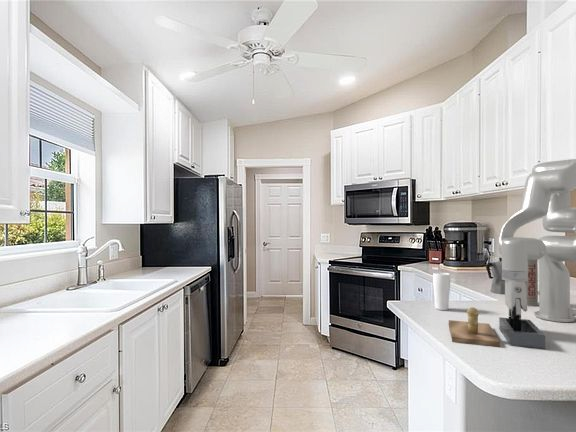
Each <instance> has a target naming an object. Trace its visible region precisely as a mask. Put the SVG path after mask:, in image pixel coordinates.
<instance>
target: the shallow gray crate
mask: <svg viewBox="0 0 576 432" xmlns="http://www.w3.org/2000/svg"><path fill="white" fill-rule="evenodd" d="M498 319H499V320H498V322H499V330H500V332H501V333H502V335H503V337H504V338H505V340H506V341H507V343H508V345H509V346H515V347H525V348H534V349H544V350H546V334H544V332H543V331H541V329H539V328H538V326H536V324H534V323H533V321H532V320H531V319H523V318H521V331H514V330H513V328H512V327H511V326H510V318H509V317H499V318H498Z"/></svg>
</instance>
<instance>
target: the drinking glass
mask: <svg viewBox="0 0 576 432" xmlns="http://www.w3.org/2000/svg"><path fill="white" fill-rule="evenodd" d="M432 287H433V295H434V296H433V297H434V309H435V310H439V311H448V310H449V306H450V305H449V302H450V292H451V273H448V272H433V273H432Z"/></svg>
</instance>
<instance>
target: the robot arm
mask: <svg viewBox="0 0 576 432" xmlns="http://www.w3.org/2000/svg"><path fill="white" fill-rule="evenodd" d="M575 189H576V158H574V159H573V158H571V159H562V160H553V161H552V160H551V161H545V162H541V163H538V164H535V165H534V166H533V168H532V170H531V173H530V174H528V175H527V176H526V180H525V182H524V189H523V192H522V197H521V201H520V206H519V209H518V210H517V211H516V212H514V213H513V214H512V215H511V216H510V217H509V218H508V219H507V220H506V221H505V223H504V224H502V227H501V230H500V233H499V237H498V242H497V243H498V244H497V250H498V252H499V255H500V256H501V258H502V279H503V280H505V294H504V300H505V301H504V302H505V305H506V306H507V308H508V318H510V326H511V327H512V328H513V330H514V331H521V319H522V310H523V312H528V306H527V293H526V284H525V281H528V261H527V259H529V260H538V272H539V273H538V278H539V279H538V282H539V283H538V285H539V286H538V290H539V291H538V292H539V293H538V294H539V295H538V297H539V298H538V299H539V300H538V307H539V308H538V309H539V311H535V312H534V316H535V317H536V318H538V319H540V320H546V321H550V322H557V323H573V322H575V321H576V308H575V309H573V307H571V295H570V294H571V274H570V271H569V269H568V268H567V266H566V264H564V262H565V263H566V262H567V263H576V236H572V235H569V236H568V235H545V236H541V237H540V238H534V237H532V238H531V237H522V236H521V237H519V236H518V237H517V236H515V233H516V232H517V231H518V230H519V229H520V228H521V227H523V226H525V225H528V224H530V223H532V222H534V221H537V220H540V219H542V227H543V229H544V230H545V231H548V232H551V233H566V234H568V233H573V234H576V207H571V202H572V201H571V197H572V196H571V192H572V191H574V190H575Z"/></svg>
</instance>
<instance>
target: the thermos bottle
mask: <svg viewBox="0 0 576 432" xmlns="http://www.w3.org/2000/svg"><path fill="white" fill-rule="evenodd" d="M527 261H528V281H525V284H526V293H527V307H537V306H539V300H538V299H539V298H538V297H539V295H538V294H539V293H538V292H539V291H538V290H539V286H538V285H539V283H538V282H539V279H538V278H539V273H538V272H539V264H538V262H539V260H529V259H527Z"/></svg>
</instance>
